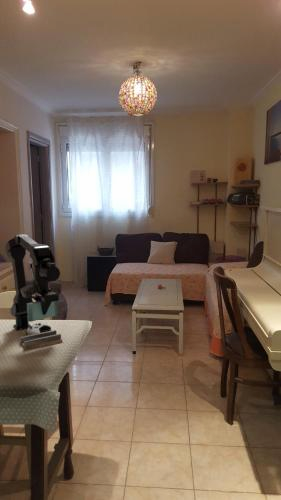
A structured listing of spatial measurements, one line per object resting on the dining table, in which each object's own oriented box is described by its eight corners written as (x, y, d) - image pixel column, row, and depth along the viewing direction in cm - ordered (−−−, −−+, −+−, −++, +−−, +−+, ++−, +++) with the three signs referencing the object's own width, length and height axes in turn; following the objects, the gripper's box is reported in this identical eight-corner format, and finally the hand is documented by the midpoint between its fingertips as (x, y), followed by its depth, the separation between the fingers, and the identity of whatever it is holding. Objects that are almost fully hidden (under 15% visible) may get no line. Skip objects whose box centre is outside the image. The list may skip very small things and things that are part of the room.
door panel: (54, 314, 155) (54, 298, 154) (57, 315, 154) (57, 299, 153) (27, 320, 148) (26, 303, 147) (30, 321, 146) (29, 304, 145)
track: (19, 342, 150) (19, 336, 150) (54, 335, 159) (54, 328, 158) (26, 350, 143) (25, 343, 142) (62, 342, 151) (62, 335, 151)
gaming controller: (40, 337, 154) (29, 324, 155) (31, 345, 156) (20, 333, 156) (53, 327, 165) (42, 316, 165) (44, 336, 167) (34, 324, 167)
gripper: (13, 275, 150) (14, 312, 152) (32, 283, 136) (33, 324, 138) (38, 272, 157) (39, 307, 159) (59, 279, 143) (60, 318, 145)
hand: (42, 314), depth 150 cm, fingers closed on door panel, 2 cm apart
